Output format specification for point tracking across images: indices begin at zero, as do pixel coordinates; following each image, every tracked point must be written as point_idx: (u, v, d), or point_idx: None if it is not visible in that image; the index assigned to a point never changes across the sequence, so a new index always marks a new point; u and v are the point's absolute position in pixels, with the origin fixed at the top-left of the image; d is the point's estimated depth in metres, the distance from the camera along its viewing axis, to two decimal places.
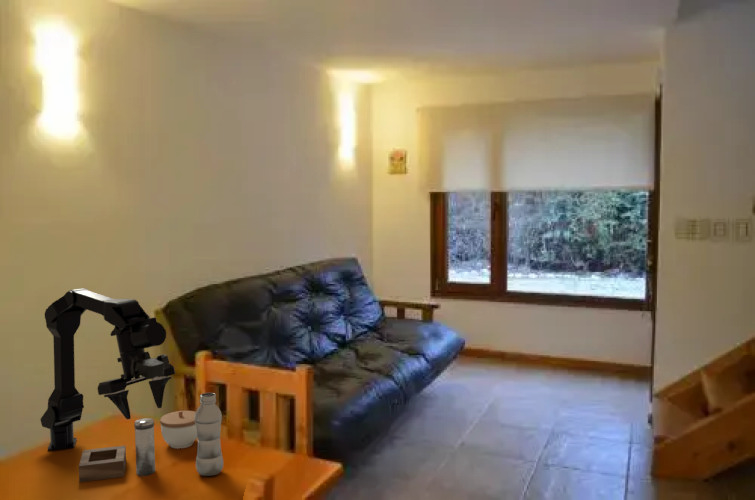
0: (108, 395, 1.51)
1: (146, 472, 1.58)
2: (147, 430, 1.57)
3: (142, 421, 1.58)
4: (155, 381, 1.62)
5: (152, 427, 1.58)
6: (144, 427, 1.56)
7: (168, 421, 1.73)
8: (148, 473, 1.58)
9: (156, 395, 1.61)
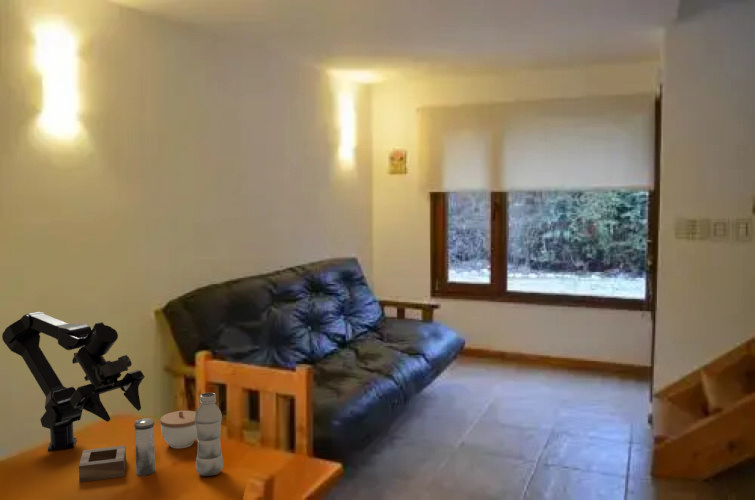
0: (82, 404, 1.57)
1: (146, 472, 1.58)
2: (147, 430, 1.57)
3: (142, 421, 1.58)
4: (128, 389, 1.68)
5: (152, 427, 1.58)
6: (144, 427, 1.56)
7: (168, 421, 1.73)
8: (148, 473, 1.58)
9: (133, 400, 1.67)
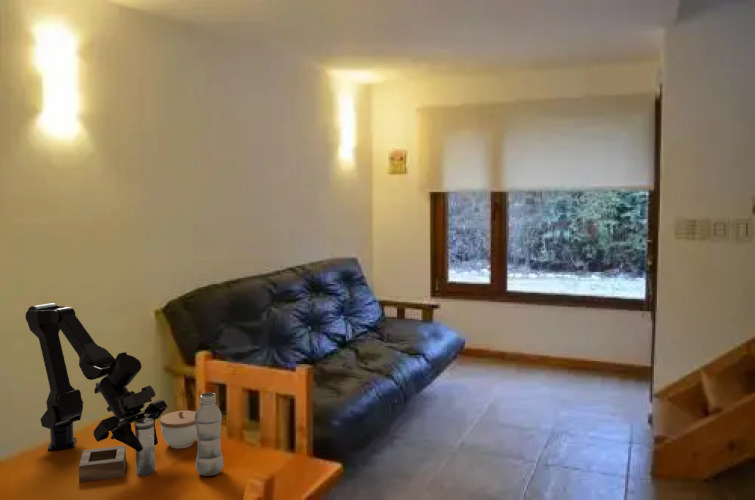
0: (113, 434, 1.56)
1: (146, 472, 1.58)
2: (147, 430, 1.57)
3: (142, 421, 1.58)
4: None
5: (152, 427, 1.58)
6: (144, 427, 1.56)
7: (168, 421, 1.73)
8: (148, 473, 1.58)
9: None
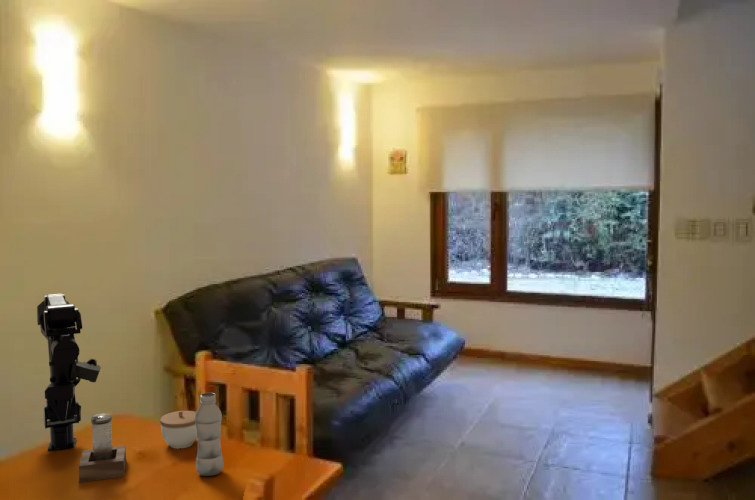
0: (55, 399, 1.54)
1: None
2: (102, 425, 1.57)
3: (99, 416, 1.59)
4: None
5: (108, 423, 1.58)
6: (99, 422, 1.57)
7: (168, 421, 1.73)
8: None
9: None
